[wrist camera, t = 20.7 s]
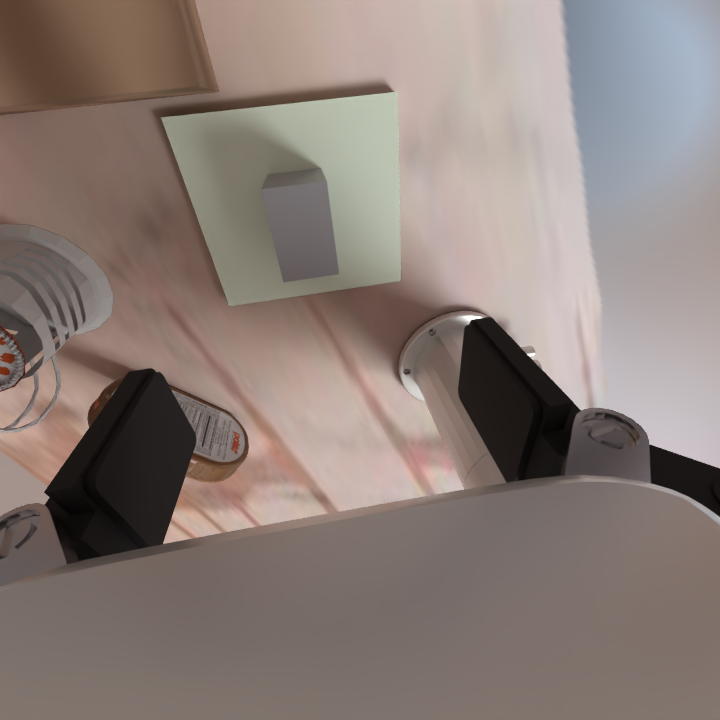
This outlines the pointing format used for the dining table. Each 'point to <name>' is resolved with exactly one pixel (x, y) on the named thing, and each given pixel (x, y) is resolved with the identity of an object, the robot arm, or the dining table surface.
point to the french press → (44, 303)
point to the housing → (99, 52)
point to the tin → (201, 435)
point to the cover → (295, 194)
